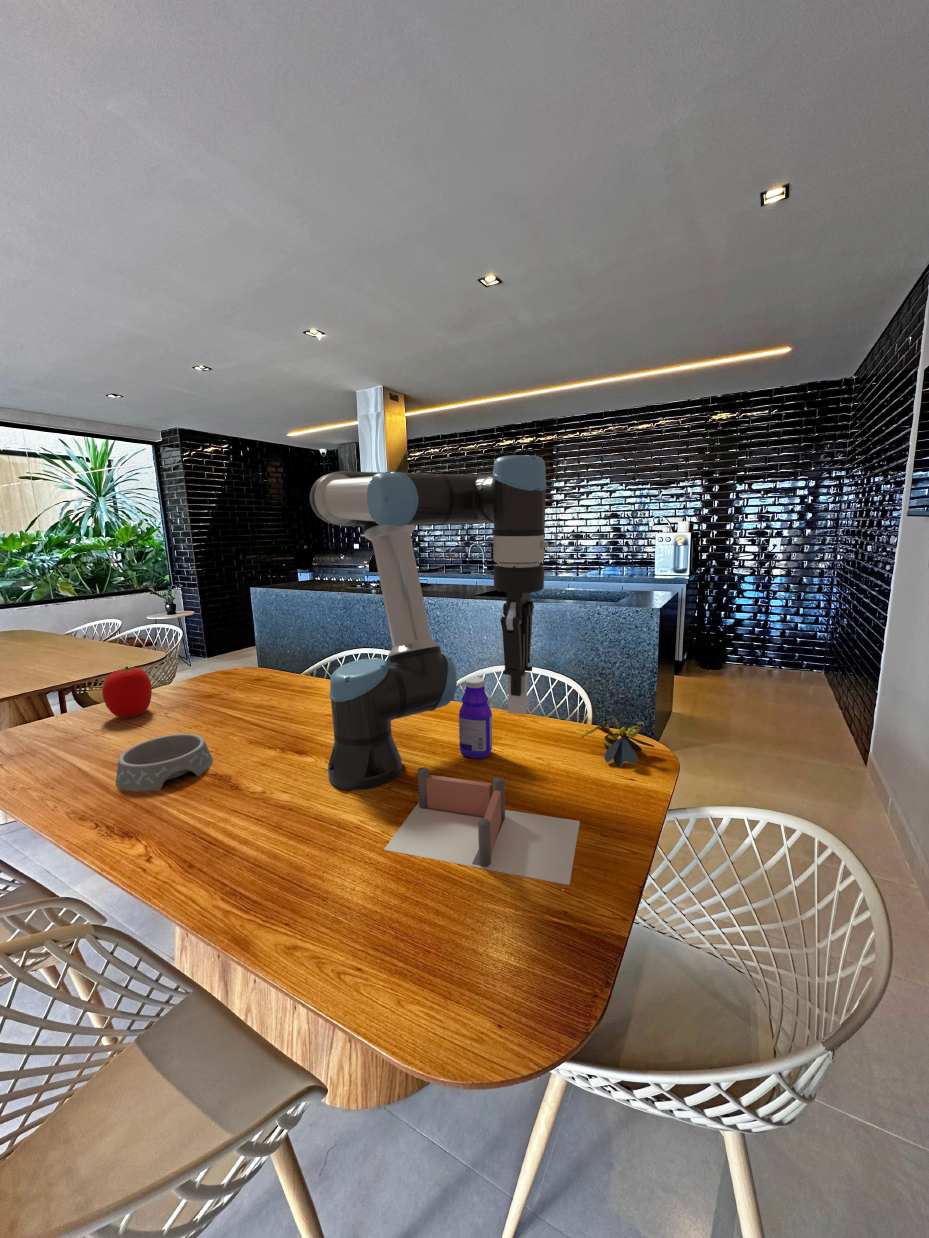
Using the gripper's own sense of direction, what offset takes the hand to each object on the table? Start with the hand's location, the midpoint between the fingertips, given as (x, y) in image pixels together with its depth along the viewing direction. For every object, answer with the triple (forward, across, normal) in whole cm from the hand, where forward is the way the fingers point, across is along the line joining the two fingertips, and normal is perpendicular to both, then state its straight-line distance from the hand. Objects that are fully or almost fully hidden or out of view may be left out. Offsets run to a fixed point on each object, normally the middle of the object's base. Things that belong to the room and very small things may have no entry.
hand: (517, 711), depth 81 cm
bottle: (+22, +25, +15) cm, 36 cm away
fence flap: (+20, -5, +3) cm, 21 cm away
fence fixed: (+21, +2, +10) cm, 23 cm away
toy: (+22, +33, -14) cm, 42 cm away
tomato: (+24, +24, +116) cm, 120 cm away
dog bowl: (+23, +1, +77) cm, 81 cm away
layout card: (+21, -3, +4) cm, 22 cm away
